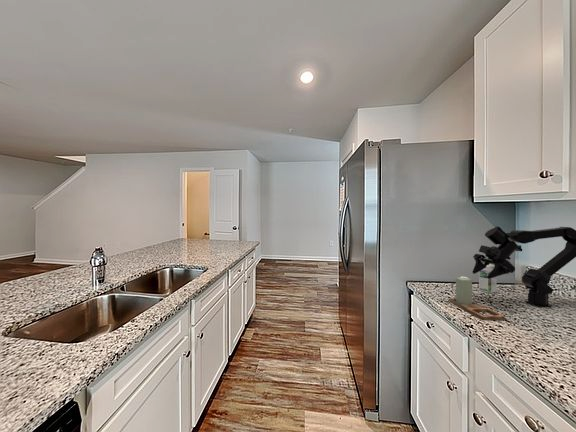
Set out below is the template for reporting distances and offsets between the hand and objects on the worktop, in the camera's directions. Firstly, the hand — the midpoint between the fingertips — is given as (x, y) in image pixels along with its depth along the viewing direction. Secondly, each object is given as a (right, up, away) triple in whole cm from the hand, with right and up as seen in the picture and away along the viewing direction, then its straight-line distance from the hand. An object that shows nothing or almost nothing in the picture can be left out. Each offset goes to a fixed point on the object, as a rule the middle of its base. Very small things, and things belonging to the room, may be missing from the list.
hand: (480, 275), depth 121 cm
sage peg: (-7, -14, 0) cm, 15 cm away
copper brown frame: (-7, -14, -6) cm, 17 cm away
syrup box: (+17, -13, +18) cm, 28 cm away
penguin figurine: (+5, -13, +20) cm, 25 cm away
